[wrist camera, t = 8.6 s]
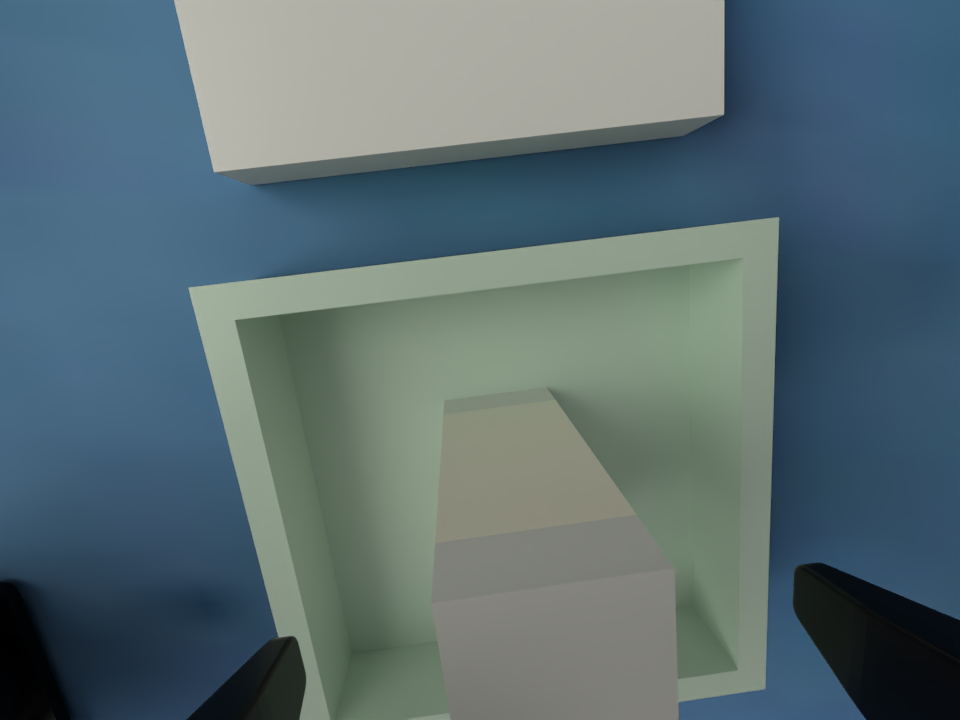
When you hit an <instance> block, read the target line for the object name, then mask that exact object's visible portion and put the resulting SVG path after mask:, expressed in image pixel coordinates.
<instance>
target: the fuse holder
mask: <svg viewBox="0 0 960 720" xmlns="http://www.w3.org/2000/svg"><path fill="white" fill-rule="evenodd" d="M174 2H175V6H176V10H177V15H178V19H179V23H180V28H181V32H182V36H183V41H184V45H185V49H186V53H187V58H188V62H189V66H190V71H191V75H192V79H193V84H194V88H195V92H196V97H197V101H198V105H199V110H200V114H201V118H202V122H203V127H204V131H205V135H206V140H207V144H208V148H209V153H210V157H211V161H212V166H213V170H214V172H215V173H218V174H220V175H223V176H226V177H229V178H232V179H235V180H238V181H240V182H243V183H246V184H249V185H258V184H267V183H275V182H284V181H293V180H302V179H311V178H319V177H328V176H337V175H346V174H354V173H363V172H372V171H381V170H390V169H398V168H407V167H416V166H425V165H433V164H442V163H451V162H460V161H469V160H477V159H486V158H495V157H504V156H512V155H521V154H530V153H539V152H548V151H556V150H565V149H574V148H583V147H591V146H600V145H609V144H618V143H627V142H635V141H644V140H653V139H662V138H670V137H679V136H684V135H686V134H688V133H690V132H692V131H694V130H696V129H698V128H700V127H701V126H703V125H705V124H707V123H709V122H711V121H713V120H715V119H717V118H719V117H721V116H723V115H724V0H174Z"/></svg>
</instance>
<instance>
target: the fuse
mask: <svg viewBox="0 0 960 720" xmlns="http://www.w3.org/2000/svg"><path fill="white" fill-rule="evenodd" d="M431 606H432V612H433V617H434V623H435V629H436V635H437V641H438V647H439V653H440V659H441V665H442V671H443V676H444V682H445V688H446V694H447V700H448V706H449V712H450V718H451V720H679V708H678V673H677V638H676V603H675V568H674V567H673V566H672V564H671V563H670V561H669V560H668V558H667V557H666V556H665V554H664V553H663V551H662V550H661V549H660V547H659V546H658V544H657V543H656V541H655V540H654V539H653V537H652V536H651V534H650V533H649V532H648V530H647V529H646V527H645V526H644V524H643V523H642V522H641V520H640V519H639V517H638V516H637V515H636V513H635V512H634V510H633V509H632V507H631V506H630V505H629V503H628V502H627V500H626V499H625V498H624V496H623V495H622V493H621V492H620V490H619V489H618V488H617V486H616V485H615V483H614V482H613V481H612V479H611V478H610V476H609V475H608V473H607V472H606V471H605V469H604V468H603V466H602V465H601V464H600V462H599V461H598V459H597V458H596V456H595V455H594V454H593V452H592V451H591V449H590V448H589V446H588V445H587V444H586V442H585V441H584V439H583V438H582V437H581V435H580V434H579V432H578V431H577V429H576V428H575V427H574V425H573V424H572V422H571V421H570V420H569V418H568V417H567V415H566V414H565V412H564V411H563V410H562V408H561V407H560V405H559V404H558V403H557V401H556V400H555V398H554V397H553V395H552V394H551V393H550V391H549V390H548V388H547V387H544V388H537V389H529V390H521V391H514V392H506V393H499V394H491V395H484V396H476V397H469V398H461V399H453V400H446V401H444V415H443V430H442V445H441V460H440V476H439V491H438V506H437V521H436V537H435V552H434V567H433V582H432V598H431Z"/></svg>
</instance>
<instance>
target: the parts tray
mask: <svg viewBox="0 0 960 720" xmlns="http://www.w3.org/2000/svg"><path fill="white" fill-rule="evenodd" d="M778 236H779V217H776V218H768V219H759V220H751V221H742V222H734V223H725V224H717V225H709V226H700V227H692V228H684V229H675V230H667V231H658V232H650V233H642V234H633V235H625V236H617V237H608V238H600V239H592V240H583V241H575V242H567V243H558V244H550V245H541V246H533V247H525V248H516V249H508V250H500V251H491V252H483V253H475V254H466V255H458V256H449V257H441V258H433V259H424V260H416V261H408V262H399V263H391V264H383V265H374V266H366V267H358V268H349V269H341V270H332V271H324V272H316V273H307V274H299V275H291V276H282V277H274V278H266V279H257V280H249V281H241V282H232V283H224V284H216V285H207V286H199V287H191V288H189V292H190V296H191V300H192V303H193V307H194V311H195V315H196V319H197V323H198V327H199V331H200V335H201V338H202V342H203V346H204V350H205V354H206V358H207V362H208V366H209V369H210V373H211V377H212V381H213V385H214V389H215V393H216V397H217V401H218V404H219V408H220V412H221V416H222V420H223V424H224V428H225V432H226V436H227V439H228V443H229V447H230V451H231V455H232V459H233V463H234V467H235V470H236V474H237V478H238V482H239V486H240V490H241V494H242V498H243V502H244V505H245V509H246V513H247V517H248V521H249V525H250V529H251V533H252V537H253V540H254V544H255V548H256V552H257V556H258V560H259V564H260V568H261V571H262V575H263V579H264V583H265V587H266V591H267V595H268V599H269V603H270V606H271V610H272V614H273V618H274V622H275V626H276V630H277V634H278V637H286V636H294V637H296V639H297V641H298V643H299V647H300V651H301V656H302V660H303V664H304V668H305V672H306V688H305V694H304V699H303V704H302V709H301V714H300V720H451V718H450V712H449V706H448V700H447V694H446V688H445V682H444V676H443V671H442V665H441V659H440V653H439V647H438V641H437V635H436V629H435V623H434V617H433V612H432V606H431V598H432V582H433V567H434V552H435V537H436V521H437V506H438V491H439V476H440V460H441V445H442V430H443V415H444V401H446V400H453V399H461V398H469V397H476V396H484V395H491V394H499V393H506V392H514V391H521V390H529V389H537V388H544V387H547V388H548V390H549V391H550V393H551V394H552V395H553V397H554V398H555V400H556V401H557V403H558V404H559V405H560V407H561V408H562V410H563V411H564V412H565V414H566V415H567V417H568V418H569V420H570V421H571V422H572V424H573V425H574V427H575V428H576V429H577V431H578V432H579V434H580V435H581V437H582V438H583V439H584V441H585V442H586V444H587V445H588V446H589V448H590V449H591V451H592V452H593V454H594V455H595V456H596V458H597V459H598V461H599V462H600V464H601V465H602V466H603V468H604V469H605V471H606V472H607V473H608V475H609V476H610V478H611V479H612V481H613V482H614V483H615V485H616V486H617V488H618V489H619V490H620V492H621V493H622V495H623V496H624V498H625V499H626V500H627V502H628V503H629V505H630V506H631V507H632V509H633V510H634V512H635V513H636V515H637V516H638V517H639V519H640V520H641V522H642V523H643V524H644V526H645V527H646V529H647V530H648V532H649V533H650V534H651V536H652V537H653V539H654V540H655V541H656V543H657V544H658V546H659V547H660V549H661V550H662V551H663V553H664V554H665V556H666V557H667V558H668V560H669V561H670V563H671V564H672V566H673V567H674V568H675V603H676V638H677V673H678V702H682V701H689V700H695V699H702V698H709V697H715V696H722V695H729V694H736V693H742V692H749V691H756V690H763V689H765V680H766V646H767V612H768V578H769V543H770V509H771V475H772V441H773V407H774V373H775V338H776V304H777V270H778Z"/></svg>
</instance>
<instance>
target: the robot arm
mask: <svg viewBox="0 0 960 720" xmlns="http://www.w3.org/2000/svg"><path fill="white" fill-rule="evenodd" d="M793 606H794V610H795V613H796V615H797V618H798V619H799V621H800V622H801V624H802V625H803V627H804V628H805V630H806V631H807V633H808V635H809V636H810V638H811V639H812V641H813V642H814V644H815V645H816V647H817V648H818V650H819V651H820V653H821V654H822V656H823V657H824V659H825V660H826V662H827V663H828V665H829V666H830V668H831V669H832V671H833V672H834V674H835V675H836V677H837V678H838V680H839V681H840V683H841V684H842V686H843V687H844V689H845V690H846V692H847V693H848V695H849V696H850V698H851V699H852V701H853V702H854V703H855V705H856V706H857V708H858V709H859V710H860V712H861V713H862V714H863V716H864V717H865V718H866V720H960V620H958V619H955V618H953V617H950V616H948V615H946V614H943V613H941V612H938V611H936V610H934V609H931V608H929V607H927V606H924V605H922V604H919V603H917V602H915V601H912V600H910V599H907V598H905V597H903V596H900V595H898V594H895V593H893V592H891V591H888V590H886V589H883V588H881V587H879V586H876V585H874V584H871V583H869V582H867V581H864V580H862V579H859V578H857V577H855V576H852V575H850V574H847V573H845V572H843V571H840V570H838V569H835V568H833V567H831V566H828V565H826V564H823V563H810V564H803V565H799V566H797V567H796V569H795V572H794V590H793ZM305 688H306V672H305V668H304V664H303V660H302V656H301V651H300V647H299V643H298V641H297V639H296V637H294V636H286V637H279V638H273V639H271V640H269V641H268V642H267V643H266V644H265V645H264V646H263V647H262V648H261V649H260V650H258V651H257V652H256V653H255V654H254V655H253V656H252V657H251V658H250V659H249V660H248V661H247V662H246V663H245V664H244V665H243V666H242V667H241V668H240V669H239V670H238V671H237V672H236V673H235V674H233V675H232V676H231V677H230V678H229V679H228V680H227V681H226V682H225V683H224V684H223V685H222V686H221V687H220V688H219V689H218V690H217V691H216V692H215V693H214V694H213V695H212V696H211V697H210V698H208V699H207V700H206V701H205V702H204V703H203V704H202V705H201V706H200V707H199V708H198V709H197V710H196V711H195V712H194V713H193V714H192V715H191V716H190V717H189V718H188V719H187V720H299V719H300V714H301V709H302V704H303V699H304V694H305ZM0 720H70V717H69V715H68V712H67V710H66V707H65V705H64V702H63V700H62V697H61V695H60V692H59V690H58V687H57V685H56V682H55V680H54V677H53V675H52V672H51V670H50V667H49V665H48V662H47V660H46V657H45V655H44V652H43V650H42V647H41V645H40V642H39V640H38V637H37V635H36V632H35V630H34V627H33V625H32V622H31V620H30V617H29V615H28V612H27V609H26V607H25V604H24V602H23V599H22V597H21V594H20V592H19V591H18V589H17V588H16V587H14V586H13V585H12V584H9V583H6V582H0Z"/></svg>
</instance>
